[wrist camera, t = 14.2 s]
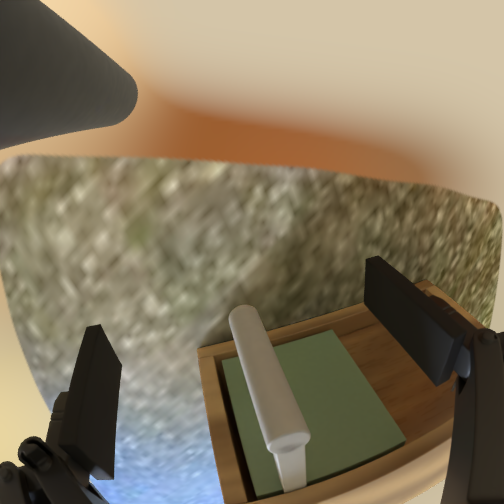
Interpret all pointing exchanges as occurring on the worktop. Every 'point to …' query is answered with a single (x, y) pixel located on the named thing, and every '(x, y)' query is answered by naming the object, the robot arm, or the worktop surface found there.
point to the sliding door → (302, 408)
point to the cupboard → (385, 386)
